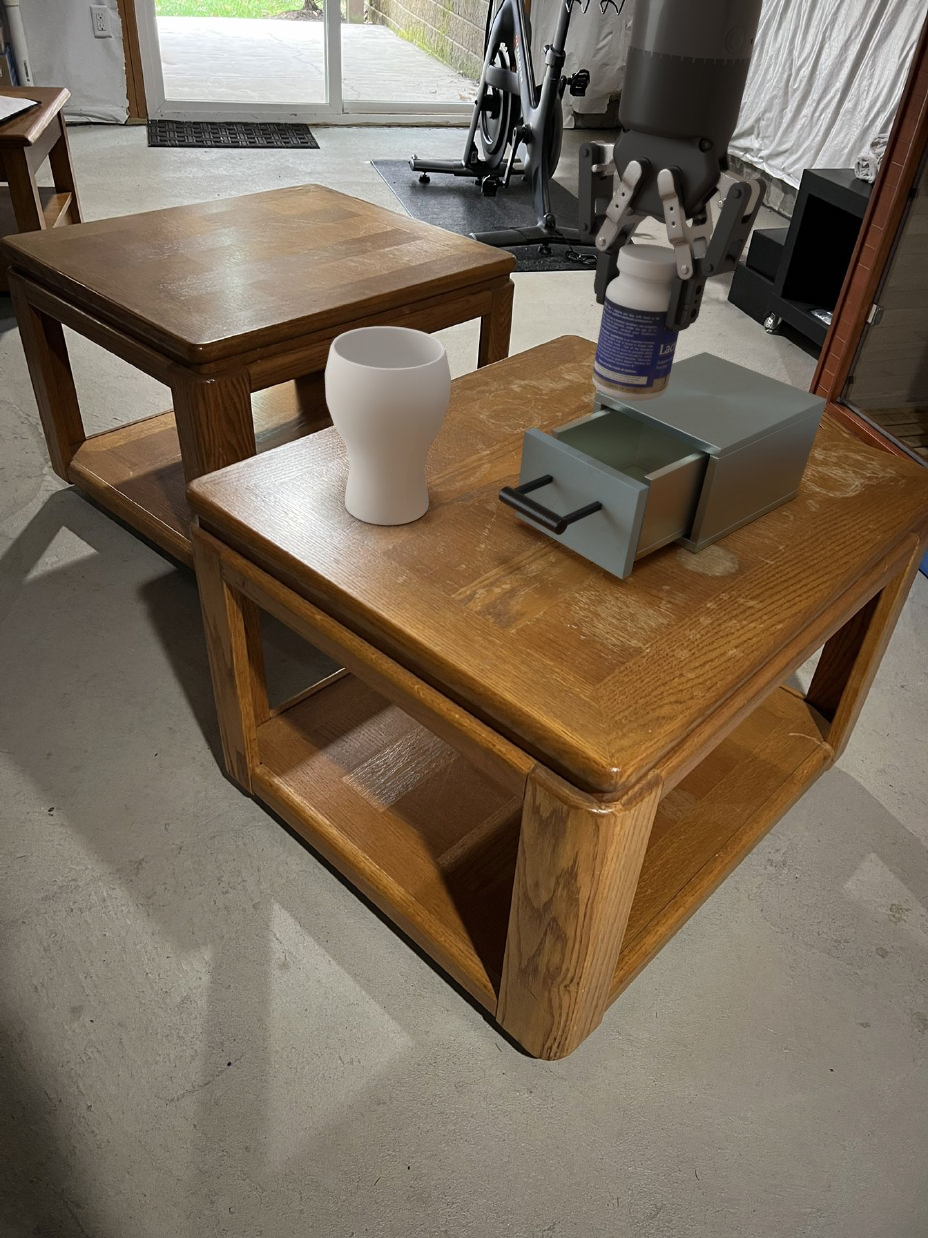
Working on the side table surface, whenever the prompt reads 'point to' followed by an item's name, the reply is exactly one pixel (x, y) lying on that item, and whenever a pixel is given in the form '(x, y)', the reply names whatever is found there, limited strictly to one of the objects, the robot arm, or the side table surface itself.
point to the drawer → (608, 487)
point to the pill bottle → (637, 325)
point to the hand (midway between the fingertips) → (641, 314)
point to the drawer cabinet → (732, 438)
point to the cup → (387, 417)
